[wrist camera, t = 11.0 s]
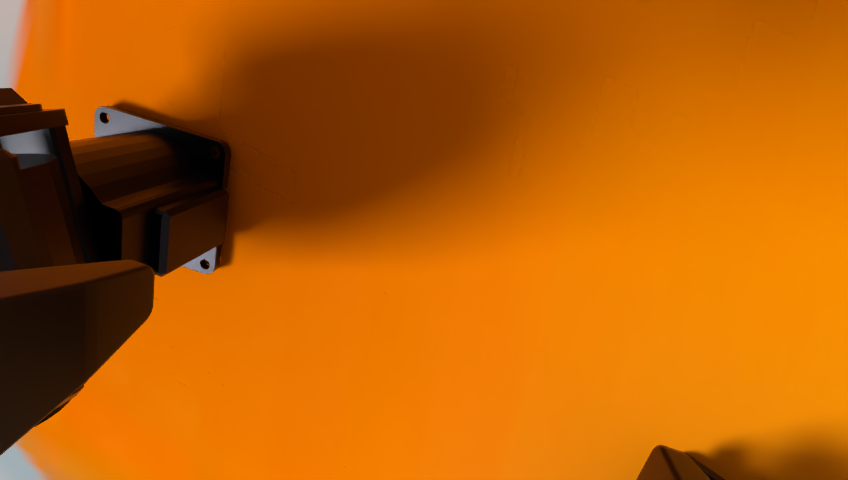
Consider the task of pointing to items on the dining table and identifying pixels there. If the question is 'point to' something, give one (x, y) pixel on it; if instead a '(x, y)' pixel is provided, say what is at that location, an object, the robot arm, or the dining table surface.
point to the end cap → (707, 470)
